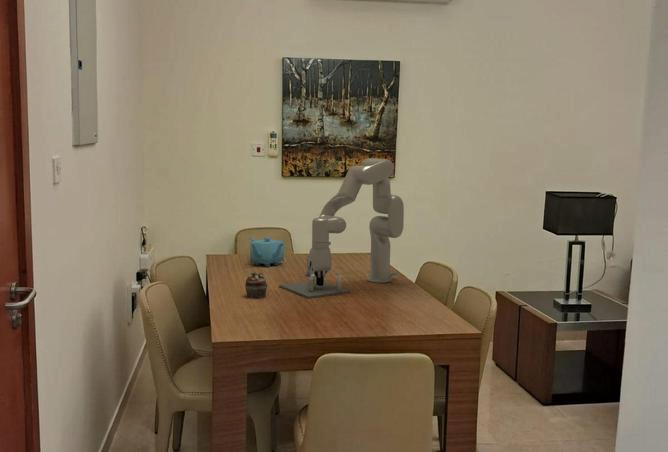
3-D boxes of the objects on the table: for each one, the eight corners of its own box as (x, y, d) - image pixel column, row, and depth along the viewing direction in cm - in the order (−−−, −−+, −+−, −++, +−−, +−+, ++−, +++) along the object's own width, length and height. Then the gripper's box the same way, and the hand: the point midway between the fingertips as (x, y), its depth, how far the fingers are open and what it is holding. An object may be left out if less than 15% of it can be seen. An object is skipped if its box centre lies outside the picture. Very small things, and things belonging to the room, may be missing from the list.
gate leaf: (317, 281, 301) (317, 270, 300) (312, 290, 282) (313, 279, 281) (313, 281, 301) (313, 270, 301) (308, 290, 282) (308, 279, 282)
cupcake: (241, 297, 273) (241, 274, 272) (251, 292, 283) (251, 270, 281) (261, 299, 270) (261, 276, 269) (271, 294, 279) (271, 272, 278)
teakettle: (282, 261, 357) (282, 235, 356) (285, 267, 339) (285, 240, 337) (248, 261, 354) (248, 235, 352) (249, 268, 336) (249, 240, 334)
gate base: (319, 282, 306) (319, 265, 305) (349, 292, 286) (350, 275, 285) (279, 287, 294) (279, 269, 293) (308, 298, 274) (308, 280, 273)
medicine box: (306, 275, 320) (306, 258, 319) (309, 274, 324) (310, 257, 323) (320, 277, 317) (320, 260, 316) (324, 275, 321) (324, 258, 320)
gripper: (329, 242, 293) (329, 281, 296) (301, 245, 285) (301, 285, 288) (338, 245, 287) (338, 285, 290) (310, 248, 279) (310, 289, 281)
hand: (319, 285), depth 289 cm, fingers closed
